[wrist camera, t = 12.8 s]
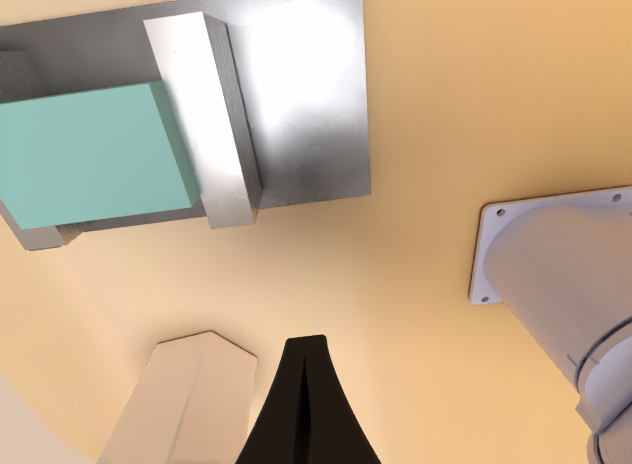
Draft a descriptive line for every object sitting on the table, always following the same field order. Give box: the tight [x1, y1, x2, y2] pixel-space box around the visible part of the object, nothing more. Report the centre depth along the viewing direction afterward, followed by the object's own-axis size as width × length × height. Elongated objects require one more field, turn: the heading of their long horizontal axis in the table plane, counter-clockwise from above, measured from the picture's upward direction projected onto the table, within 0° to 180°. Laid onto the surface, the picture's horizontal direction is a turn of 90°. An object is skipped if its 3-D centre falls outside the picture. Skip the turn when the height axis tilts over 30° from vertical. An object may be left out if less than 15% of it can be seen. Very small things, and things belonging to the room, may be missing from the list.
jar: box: [97, 332, 257, 464], centre depth 21 cm, size 9×8×12 cm
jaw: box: [143, 12, 263, 229], centre depth 14 cm, size 2×8×4 cm, turn 7°
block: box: [0, 80, 200, 230], centre depth 14 cm, size 7×4×5 cm, turn 97°
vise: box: [0, 0, 371, 251], centre depth 15 cm, size 18×10×4 cm, turn 97°
